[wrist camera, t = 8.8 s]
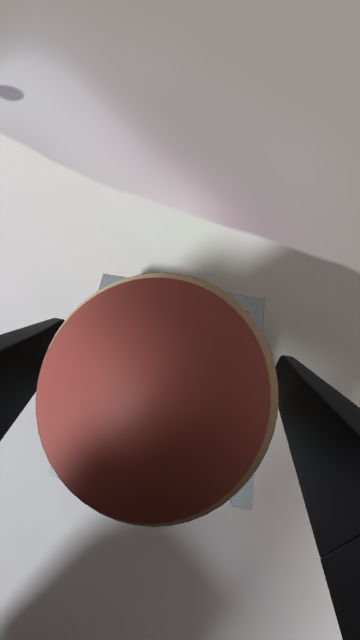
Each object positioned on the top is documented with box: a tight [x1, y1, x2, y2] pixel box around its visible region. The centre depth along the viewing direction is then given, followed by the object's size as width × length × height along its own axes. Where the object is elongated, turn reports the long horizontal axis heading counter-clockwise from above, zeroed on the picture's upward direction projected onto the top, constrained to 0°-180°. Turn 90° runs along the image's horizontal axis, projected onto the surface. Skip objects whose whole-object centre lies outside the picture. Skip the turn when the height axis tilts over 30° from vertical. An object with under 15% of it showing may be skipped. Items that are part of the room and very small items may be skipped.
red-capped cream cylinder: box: [36, 273, 278, 527], centre depth 9 cm, size 5×5×13 cm
